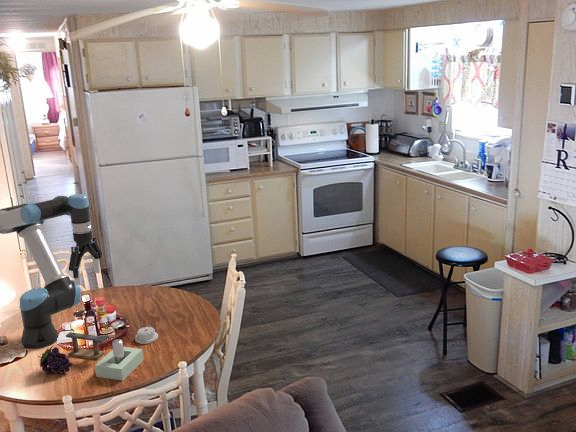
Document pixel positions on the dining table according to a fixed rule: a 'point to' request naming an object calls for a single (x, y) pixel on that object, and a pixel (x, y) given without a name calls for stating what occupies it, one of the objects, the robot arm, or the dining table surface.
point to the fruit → (54, 361)
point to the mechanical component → (146, 335)
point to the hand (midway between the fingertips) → (88, 278)
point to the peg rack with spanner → (84, 352)
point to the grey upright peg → (118, 351)
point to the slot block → (121, 370)
